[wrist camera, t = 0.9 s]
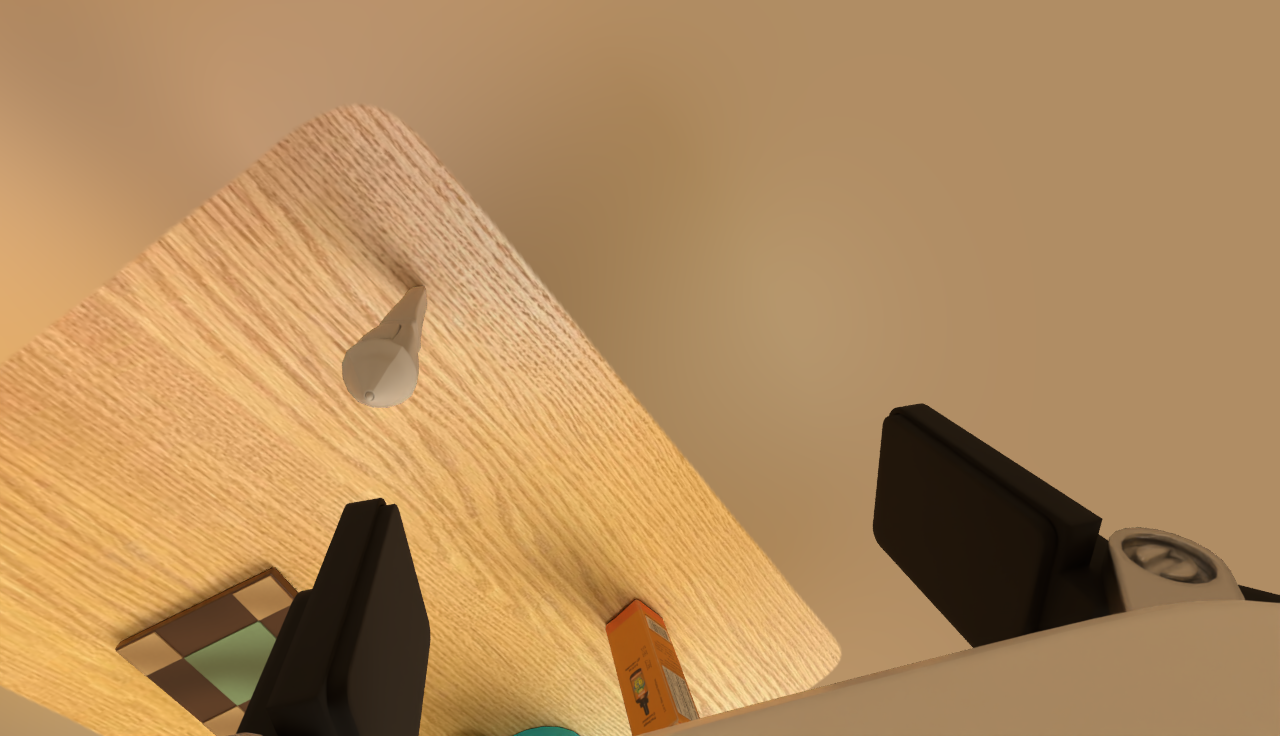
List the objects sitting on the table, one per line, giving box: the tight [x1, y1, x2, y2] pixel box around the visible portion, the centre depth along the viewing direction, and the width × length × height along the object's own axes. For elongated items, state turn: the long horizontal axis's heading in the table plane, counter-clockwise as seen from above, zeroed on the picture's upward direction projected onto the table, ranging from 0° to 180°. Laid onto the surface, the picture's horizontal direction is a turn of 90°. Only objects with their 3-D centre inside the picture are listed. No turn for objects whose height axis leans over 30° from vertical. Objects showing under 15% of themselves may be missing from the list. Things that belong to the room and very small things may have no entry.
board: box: [115, 568, 298, 736], centre depth 38 cm, size 10×10×1 cm
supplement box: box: [606, 600, 700, 736], centre depth 40 cm, size 3×3×10 cm
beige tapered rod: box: [342, 286, 427, 408], centre depth 26 cm, size 2×3×14 cm
